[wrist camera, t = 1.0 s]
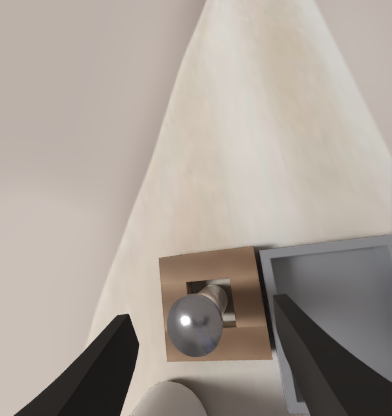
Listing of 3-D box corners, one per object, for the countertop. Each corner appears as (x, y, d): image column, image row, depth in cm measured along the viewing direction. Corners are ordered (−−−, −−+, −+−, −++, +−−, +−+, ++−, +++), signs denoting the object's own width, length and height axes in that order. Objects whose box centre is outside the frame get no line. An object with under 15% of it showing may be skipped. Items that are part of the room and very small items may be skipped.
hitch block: (270, 349, 22) (272, 359, 20) (173, 352, 24) (167, 361, 22) (252, 246, 24) (253, 246, 22) (165, 257, 26) (158, 257, 24)
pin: (235, 318, 23) (226, 356, 15) (197, 320, 24) (169, 357, 15) (229, 278, 24) (217, 292, 15) (193, 281, 25) (164, 297, 16)
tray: (422, 392, 18) (453, 418, 16) (283, 391, 21) (288, 413, 18) (376, 236, 21) (395, 234, 18) (258, 250, 23) (259, 250, 21)
